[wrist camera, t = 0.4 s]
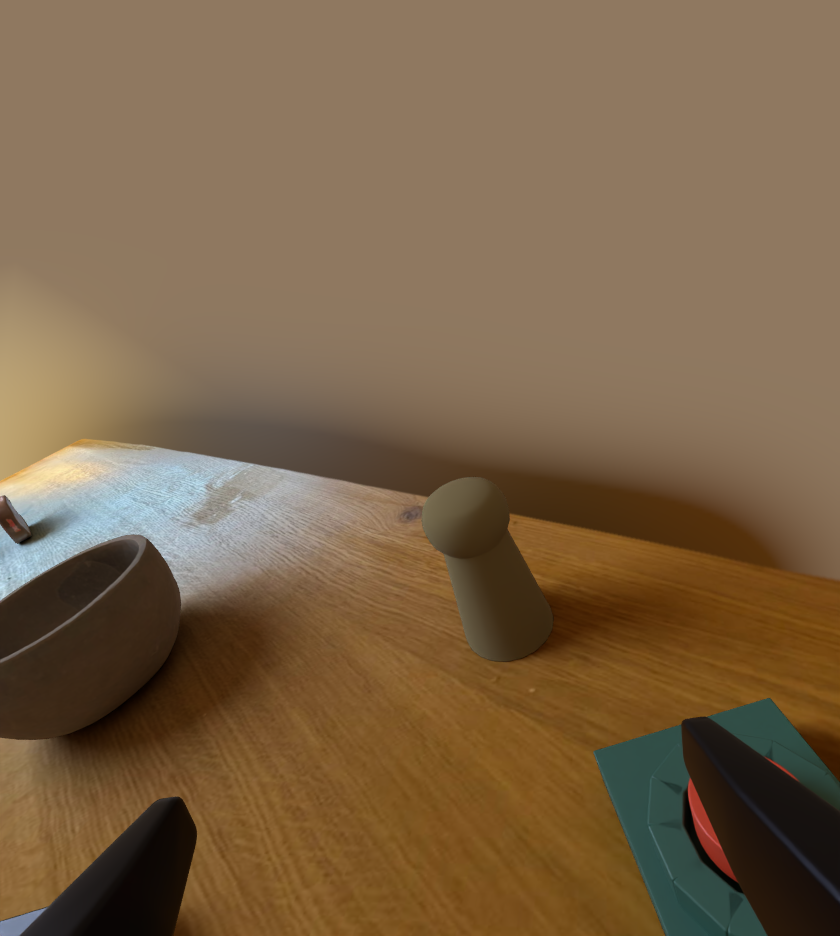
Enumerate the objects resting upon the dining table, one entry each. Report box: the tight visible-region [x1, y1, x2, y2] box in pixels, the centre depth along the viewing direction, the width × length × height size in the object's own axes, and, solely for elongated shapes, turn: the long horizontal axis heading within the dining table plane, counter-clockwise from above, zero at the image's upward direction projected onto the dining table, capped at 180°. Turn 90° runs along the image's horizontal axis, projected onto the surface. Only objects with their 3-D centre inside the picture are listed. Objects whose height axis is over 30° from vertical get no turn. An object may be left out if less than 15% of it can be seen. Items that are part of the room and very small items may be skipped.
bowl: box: [0, 535, 181, 740], centre depth 43 cm, size 17×18×10 cm
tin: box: [0, 496, 31, 544], centre depth 95 cm, size 15×3×8 cm, turn 45°
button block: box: [594, 698, 840, 936], centre depth 18 cm, size 10×8×4 cm
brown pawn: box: [422, 477, 553, 661], centre depth 31 cm, size 6×6×11 cm
